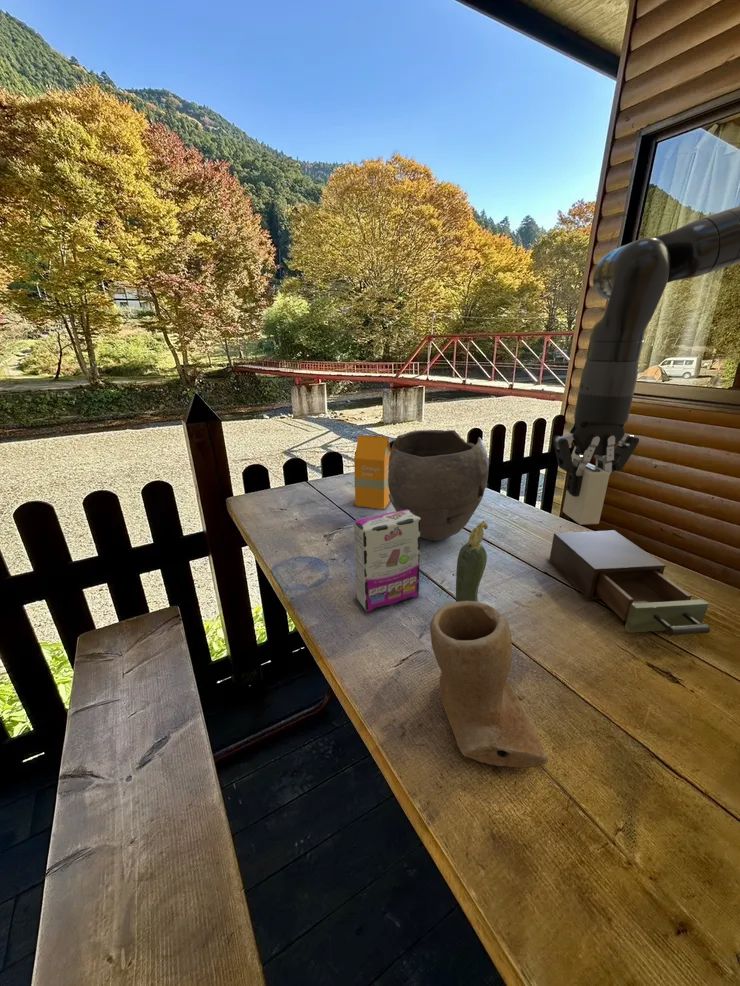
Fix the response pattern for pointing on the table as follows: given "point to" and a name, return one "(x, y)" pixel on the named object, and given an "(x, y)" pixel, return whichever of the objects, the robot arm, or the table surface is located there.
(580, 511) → the slotted beige box
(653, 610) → the drawer
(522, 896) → the table surface
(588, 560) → the cabinet
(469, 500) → the clay pot
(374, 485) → the orange juice
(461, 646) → the clay boot vessel
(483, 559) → the vegetable
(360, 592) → the candy bar box
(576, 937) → the table surface
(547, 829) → the table surface
